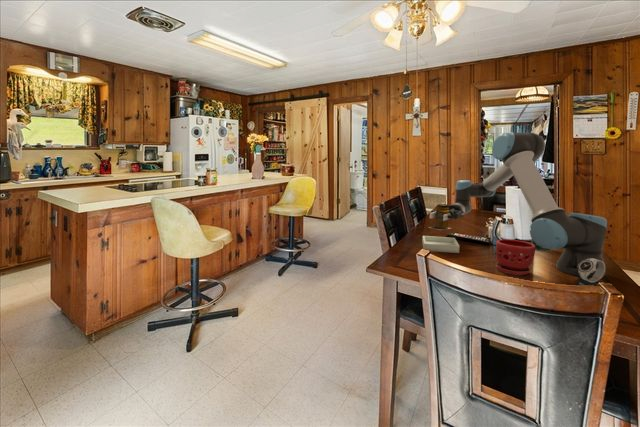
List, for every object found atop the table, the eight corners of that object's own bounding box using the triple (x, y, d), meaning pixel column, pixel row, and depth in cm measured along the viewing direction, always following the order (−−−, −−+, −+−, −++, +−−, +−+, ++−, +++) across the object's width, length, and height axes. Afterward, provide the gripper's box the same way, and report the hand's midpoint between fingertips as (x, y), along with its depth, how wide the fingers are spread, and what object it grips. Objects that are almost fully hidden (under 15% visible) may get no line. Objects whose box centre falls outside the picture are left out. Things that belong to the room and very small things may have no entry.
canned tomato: (543, 246, 160) (546, 225, 158) (553, 251, 153) (556, 229, 151) (527, 246, 161) (529, 225, 159) (536, 251, 153) (538, 229, 151)
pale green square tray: (458, 253, 150) (459, 246, 149) (423, 250, 154) (424, 243, 154) (454, 244, 165) (454, 237, 165) (422, 242, 169) (422, 235, 169)
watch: (571, 287, 111) (575, 257, 109) (591, 285, 113) (596, 256, 111) (586, 293, 106) (591, 262, 104) (607, 292, 107) (612, 261, 105)
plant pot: (538, 278, 119) (542, 247, 117) (500, 276, 122) (504, 246, 119) (523, 266, 132) (526, 238, 130) (489, 264, 134) (491, 237, 132)
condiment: (451, 228, 158) (453, 204, 155) (440, 230, 153) (442, 206, 151) (439, 225, 164) (440, 203, 161) (428, 227, 159) (429, 204, 157)
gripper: (473, 220, 164) (456, 227, 148) (437, 215, 177) (418, 221, 160) (474, 205, 163) (457, 211, 146) (438, 202, 175) (419, 207, 159)
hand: (437, 216), depth 153 cm, fingers closed on condiment, 6 cm apart
